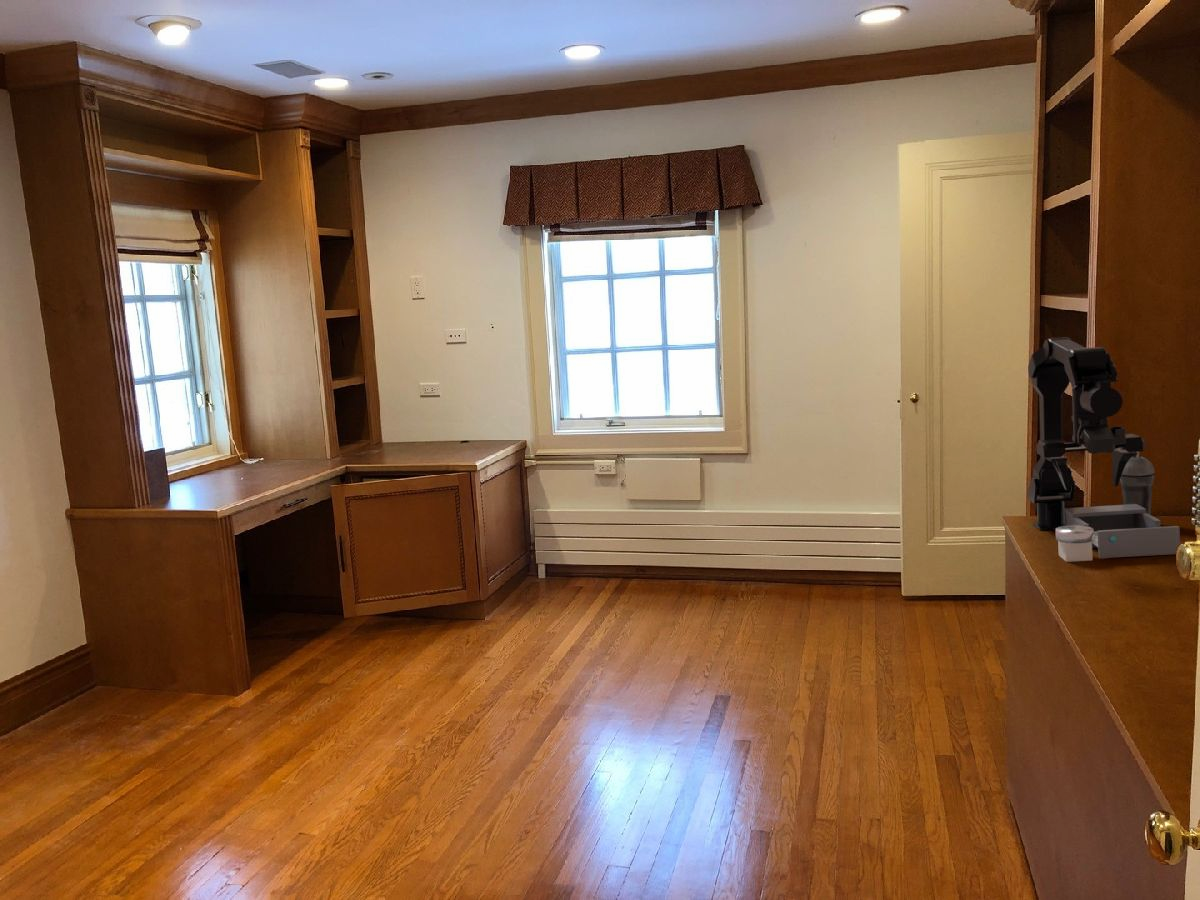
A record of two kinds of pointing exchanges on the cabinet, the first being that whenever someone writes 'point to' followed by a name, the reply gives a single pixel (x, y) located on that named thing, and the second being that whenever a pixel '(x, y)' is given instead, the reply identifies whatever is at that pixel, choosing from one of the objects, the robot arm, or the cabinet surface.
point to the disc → (1074, 534)
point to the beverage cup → (1138, 482)
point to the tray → (1137, 541)
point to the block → (1075, 551)
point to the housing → (1110, 517)
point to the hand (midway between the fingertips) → (1090, 488)
